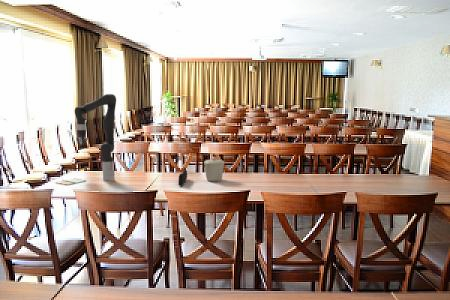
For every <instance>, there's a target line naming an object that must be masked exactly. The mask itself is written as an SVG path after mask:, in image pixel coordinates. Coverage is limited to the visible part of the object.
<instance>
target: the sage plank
mask: <svg viewBox="0 0 450 300" xmlns="http://www.w3.org/2000/svg"><path fill="white" fill-rule="evenodd" d="M65 181H70V182H75V183H76V184H80V183H85V182H87V180H86V179H82V178H76V177H73V178H70V179H65Z"/></svg>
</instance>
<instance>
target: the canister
mask: <svg viewBox="0 0 450 300" xmlns="http://www.w3.org/2000/svg"><path fill="white" fill-rule="evenodd" d="M203 163H204V169H205V171H204V172H205V178H206V180H207V181H208V182H213V183H214V182H220V181H222V179H223V174H224V167H225V166H224V164H225V163H226V162H225V161H224V160H221V159H217V157H216V156H212V158H211V159H207V160H205V161H204V162H203Z"/></svg>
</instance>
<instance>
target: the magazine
mask: <svg viewBox="0 0 450 300" xmlns="http://www.w3.org/2000/svg"><path fill="white" fill-rule="evenodd" d="M187 179H188V170H187V167H184V168H183V170H182V172H181V173H179V176H178V184H177V185H178V186H183V185H185V184H186V181H187Z"/></svg>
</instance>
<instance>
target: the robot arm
mask: <svg viewBox="0 0 450 300" xmlns="http://www.w3.org/2000/svg"><path fill="white" fill-rule="evenodd" d="M116 105H117V97H116V95H114V94H113V93H106V94H103V95H102V96H101V97H99V98H97V99H95V100H93V101H91V102H87V103H85V104H84V105H82V106H76V107H75V108H74V116H75V118H76V134H77V137H76V141H77V142H78V144H79V145H80V150H84V149H85V145H86V143H87V142H88V138H87V136H86V135H87V125H86V118H85V117H84V116H83V115H86V114H89V112H91V111H94V110H96V109H98V108H100V107H101V106H107V111H106V112H105V116H104V117H103V120H102V121H103V122H102V126H103V127H102V128H103V132H104V134H105V142H104V143H102V144H101V145H100V158H101V162H102V165H101V167H102V181H104V182H113V181H115V177H116V175H115V169H114V158H113V157H112V154H111V153H113V152H114V150H115V138H114V137H115V116H116V115H115V114H116Z"/></svg>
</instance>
